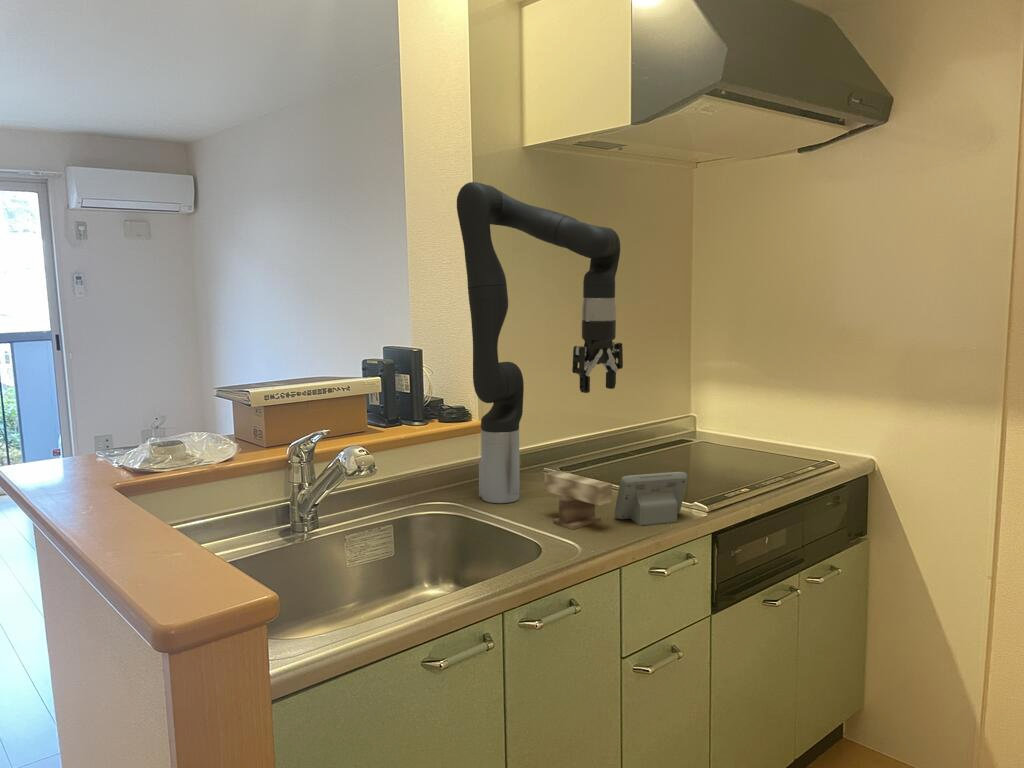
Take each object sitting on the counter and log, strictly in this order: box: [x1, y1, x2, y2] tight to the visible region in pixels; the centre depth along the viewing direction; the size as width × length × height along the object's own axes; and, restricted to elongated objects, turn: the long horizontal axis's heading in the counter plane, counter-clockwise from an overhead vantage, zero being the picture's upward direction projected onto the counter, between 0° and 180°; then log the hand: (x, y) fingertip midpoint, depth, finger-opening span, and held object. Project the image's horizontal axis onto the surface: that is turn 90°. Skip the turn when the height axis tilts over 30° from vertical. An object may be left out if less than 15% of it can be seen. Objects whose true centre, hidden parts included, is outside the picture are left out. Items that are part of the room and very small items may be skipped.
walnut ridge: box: [552, 496, 602, 530], centre depth 171 cm, size 6×9×6 cm, turn 133°
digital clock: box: [613, 471, 689, 526], centre depth 173 cm, size 16×9×11 cm, turn 93°
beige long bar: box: [544, 470, 613, 506], centre depth 170 cm, size 16×4×4 cm, turn 44°
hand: (597, 390), depth 175 cm, fingers open, 8 cm apart
